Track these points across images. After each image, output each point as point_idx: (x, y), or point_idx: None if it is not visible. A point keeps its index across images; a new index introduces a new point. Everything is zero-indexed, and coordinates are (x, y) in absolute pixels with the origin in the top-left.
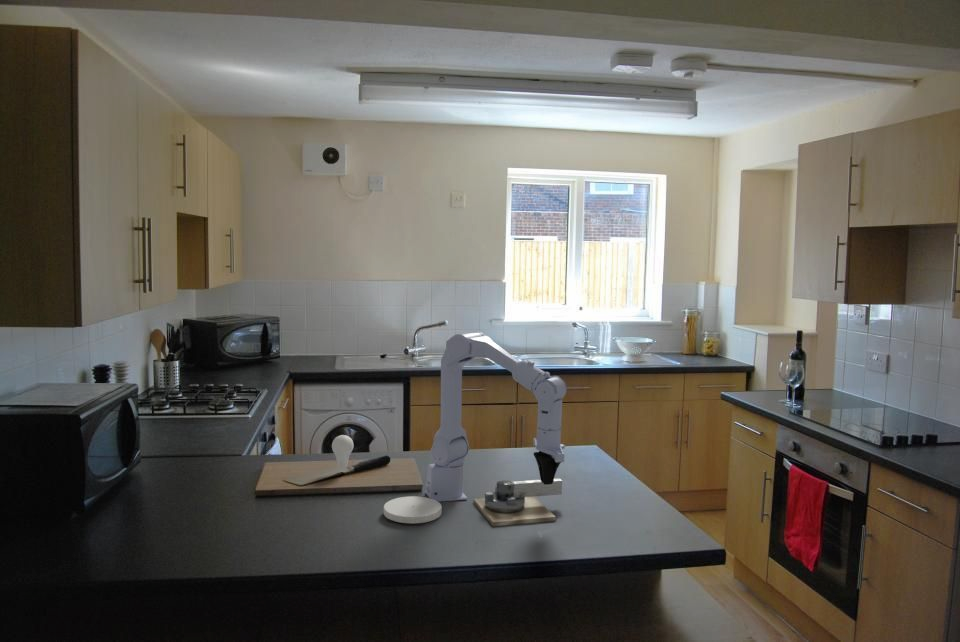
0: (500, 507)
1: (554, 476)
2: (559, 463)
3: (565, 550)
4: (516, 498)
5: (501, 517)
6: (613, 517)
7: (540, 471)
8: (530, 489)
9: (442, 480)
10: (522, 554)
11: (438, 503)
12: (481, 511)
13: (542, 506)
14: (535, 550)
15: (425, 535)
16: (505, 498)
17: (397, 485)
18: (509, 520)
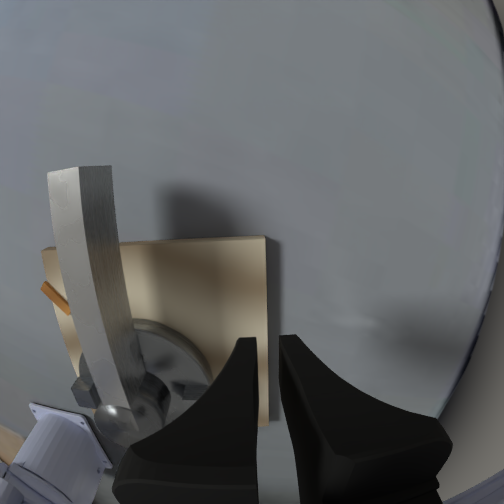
0: None
1: (314, 355)
2: (402, 415)
3: (460, 284)
4: (142, 361)
5: None
6: (272, 13)
7: (256, 440)
8: (120, 329)
9: (84, 484)
10: (433, 379)
11: None
12: None
13: (151, 253)
14: (432, 353)
15: (281, 496)
16: (169, 406)
17: None
18: (266, 391)
